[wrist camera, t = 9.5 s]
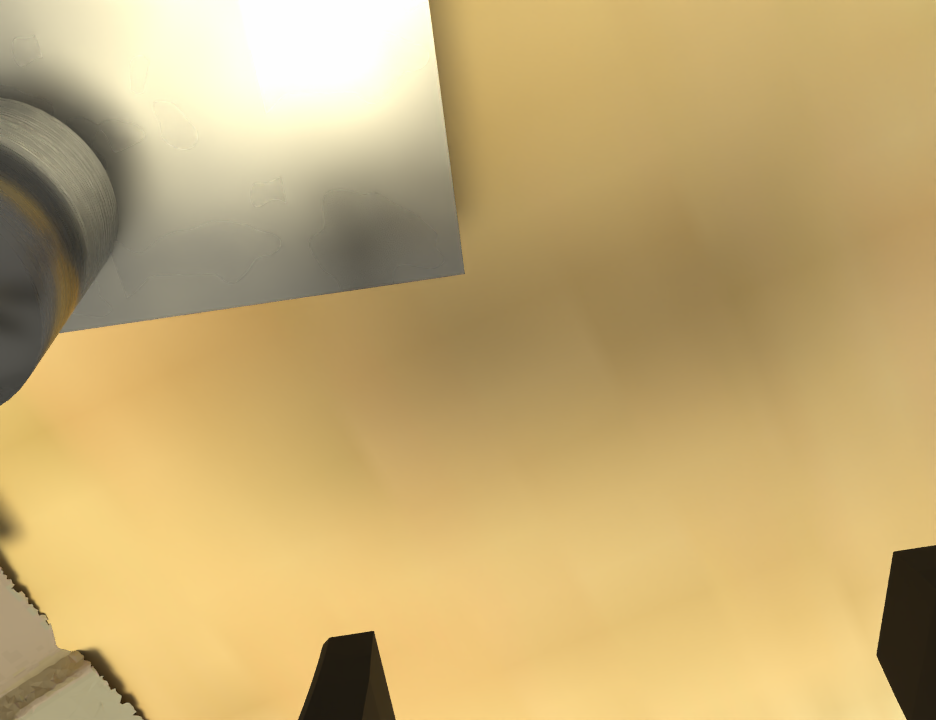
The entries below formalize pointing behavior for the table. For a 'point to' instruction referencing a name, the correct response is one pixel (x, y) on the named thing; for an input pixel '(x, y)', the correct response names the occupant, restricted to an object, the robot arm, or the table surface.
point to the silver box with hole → (212, 159)
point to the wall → (47, 670)
